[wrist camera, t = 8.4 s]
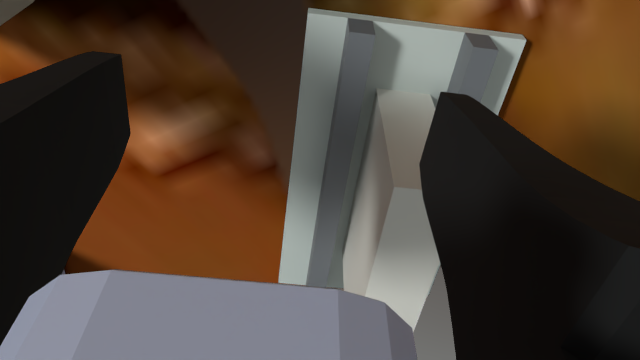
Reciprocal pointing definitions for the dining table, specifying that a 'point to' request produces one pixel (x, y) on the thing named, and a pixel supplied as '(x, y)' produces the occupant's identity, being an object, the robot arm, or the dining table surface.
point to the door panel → (392, 209)
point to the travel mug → (12, 8)
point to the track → (355, 110)
